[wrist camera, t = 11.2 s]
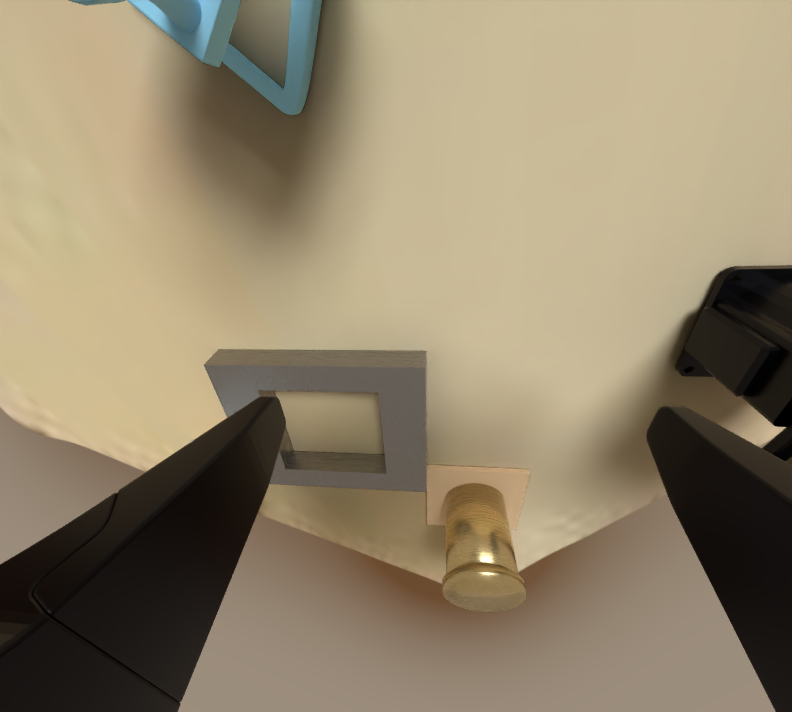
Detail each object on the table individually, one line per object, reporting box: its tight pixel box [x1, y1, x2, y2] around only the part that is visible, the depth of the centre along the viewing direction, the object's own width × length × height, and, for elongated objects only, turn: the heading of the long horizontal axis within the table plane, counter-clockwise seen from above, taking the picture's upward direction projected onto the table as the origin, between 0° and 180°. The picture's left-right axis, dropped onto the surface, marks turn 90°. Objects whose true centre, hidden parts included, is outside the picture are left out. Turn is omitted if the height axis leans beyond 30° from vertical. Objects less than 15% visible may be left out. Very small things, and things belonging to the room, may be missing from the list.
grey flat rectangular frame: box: [204, 349, 427, 492], centre depth 25 cm, size 14×12×2 cm
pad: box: [427, 465, 530, 530], centre depth 29 cm, size 8×8×1 cm
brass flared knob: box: [442, 483, 527, 612], centre depth 26 cm, size 6×6×7 cm
